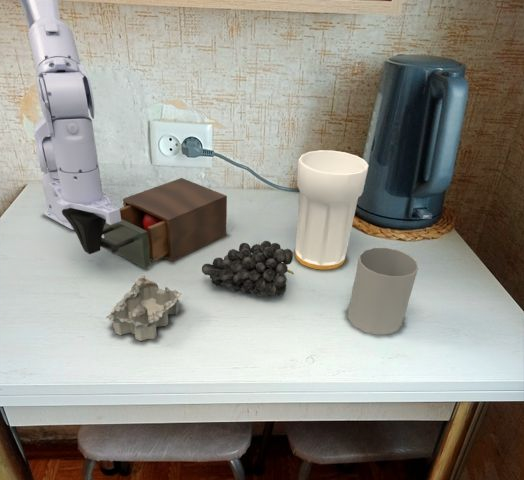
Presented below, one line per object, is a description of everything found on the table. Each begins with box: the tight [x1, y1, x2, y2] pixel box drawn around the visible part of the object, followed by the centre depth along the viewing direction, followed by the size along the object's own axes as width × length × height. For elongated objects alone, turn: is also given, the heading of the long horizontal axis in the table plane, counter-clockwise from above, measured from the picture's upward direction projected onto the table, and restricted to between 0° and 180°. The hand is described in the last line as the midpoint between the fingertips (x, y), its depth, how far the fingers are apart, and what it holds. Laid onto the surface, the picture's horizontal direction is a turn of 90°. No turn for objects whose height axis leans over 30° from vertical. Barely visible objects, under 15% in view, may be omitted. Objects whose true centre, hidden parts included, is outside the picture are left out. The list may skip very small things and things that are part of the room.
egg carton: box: [105, 275, 182, 342], centre depth 74 cm, size 11×8×4 cm
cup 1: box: [294, 149, 370, 271], centre depth 87 cm, size 11×11×17 cm
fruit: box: [201, 240, 295, 298], centre depth 81 cm, size 9×8×15 cm
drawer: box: [100, 205, 169, 269], centre depth 88 cm, size 18×10×6 cm, turn 141°
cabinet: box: [122, 177, 228, 263], centre depth 93 cm, size 14×12×8 cm
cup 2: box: [347, 247, 419, 336], centre depth 76 cm, size 8×8×10 cm
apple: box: [143, 213, 164, 233], centre depth 91 cm, size 5×5×6 cm
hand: (92, 250), depth 81 cm, fingers closed, pressing on drawer
